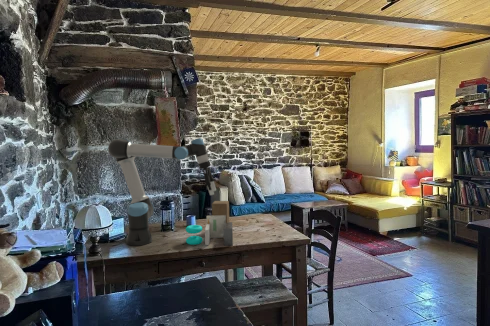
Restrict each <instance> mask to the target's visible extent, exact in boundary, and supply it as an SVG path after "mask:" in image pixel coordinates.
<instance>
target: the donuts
mask: <svg viewBox="0 0 490 326" xmlns="http://www.w3.org/2000/svg"><path fill="white" fill-rule="evenodd" d="M185 231H186V232H187V233H188V234H199V233H201V232H202V231H203V226H201V225H200V224H199V225H198V224H191V225H188V226H186V228H185ZM185 243H186V244H187V245H191V246H192V245H193V246H194V245H199V244H202V243H203V237H202V236H200V235H191V236H188V237H187V238H186V240H185Z"/></svg>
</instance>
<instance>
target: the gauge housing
mask: <svg viewBox="0 0 490 326" xmlns="http://www.w3.org/2000/svg"><path fill="white" fill-rule="evenodd" d="M208 219H209V224H210V239H216V238H217V239H218V238H223V246H226V247H227V246H228V247H229V246H234V243H233V239H234V238H233V237H234V236H233V222H232V221H231V222H230V221H229V222H226V215H214V216H212V215H206V224H208Z"/></svg>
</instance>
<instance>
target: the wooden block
mask: <svg viewBox="0 0 490 326" xmlns="http://www.w3.org/2000/svg"><path fill="white" fill-rule="evenodd" d="M214 215H226V222H230V201H229V200H214V201H213V202H212V203H211V216H214Z"/></svg>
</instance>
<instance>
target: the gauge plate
mask: <svg viewBox="0 0 490 326" xmlns="http://www.w3.org/2000/svg"><path fill="white" fill-rule="evenodd" d="M210 240H211V238H210V224H209V219H208V224H207V223H206V225H205V228H204V245H205V246H209V245H210Z"/></svg>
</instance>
